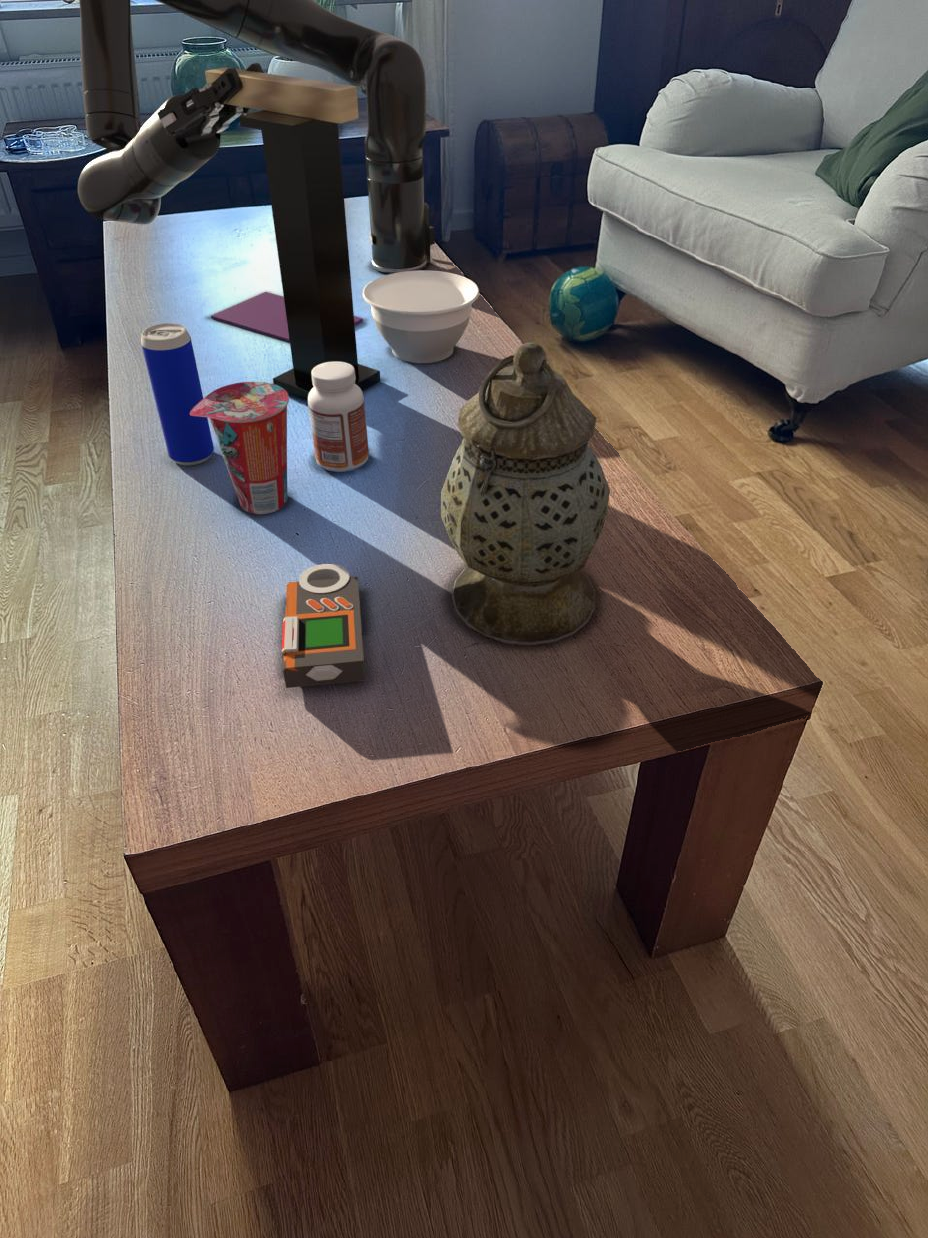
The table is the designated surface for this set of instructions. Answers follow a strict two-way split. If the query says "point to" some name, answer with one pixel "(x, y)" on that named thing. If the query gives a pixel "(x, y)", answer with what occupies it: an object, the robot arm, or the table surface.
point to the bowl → (421, 312)
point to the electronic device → (323, 628)
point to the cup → (251, 440)
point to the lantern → (524, 504)
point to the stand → (310, 245)
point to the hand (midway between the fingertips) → (248, 74)
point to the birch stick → (293, 96)
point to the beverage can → (177, 392)
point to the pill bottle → (337, 417)
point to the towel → (261, 315)
